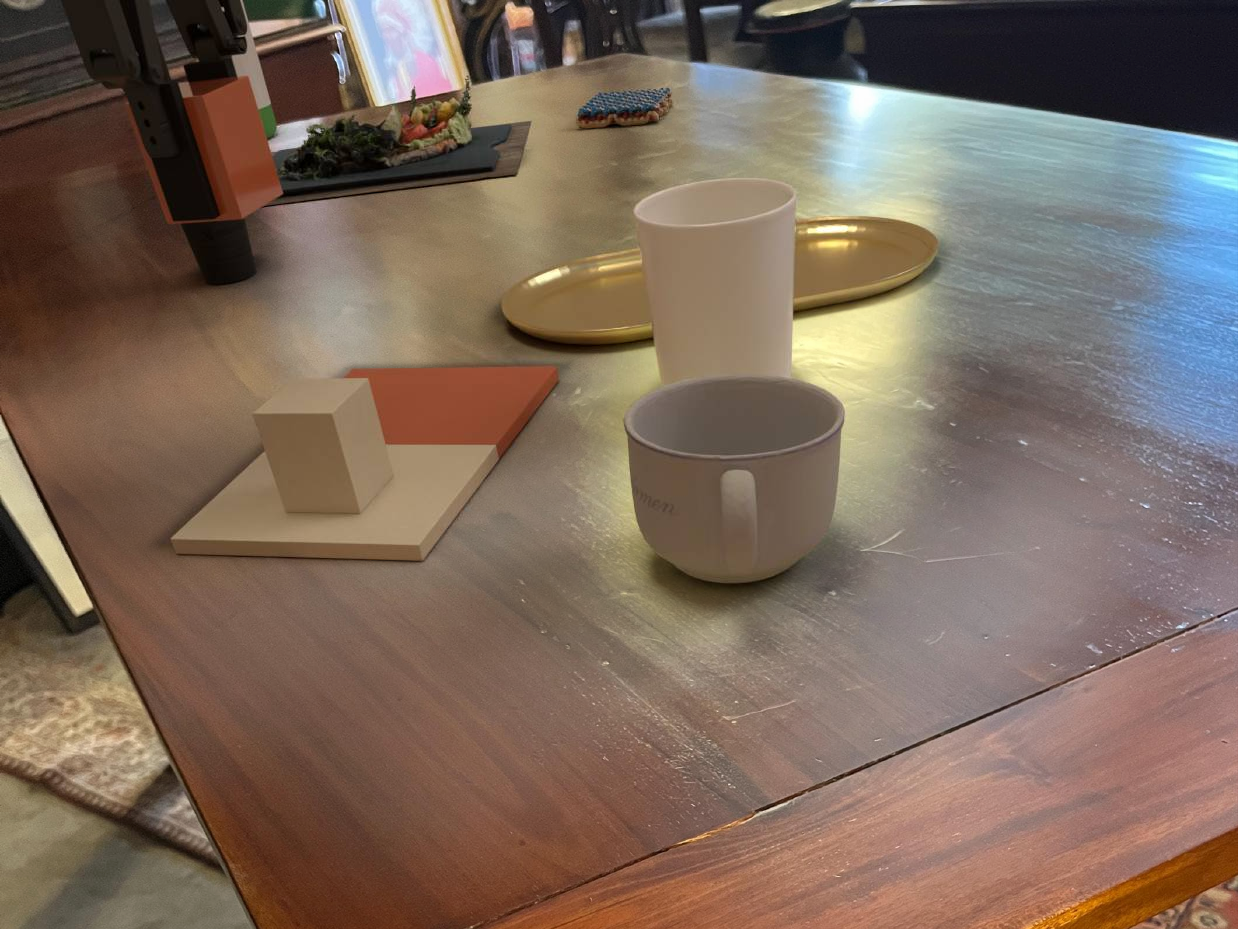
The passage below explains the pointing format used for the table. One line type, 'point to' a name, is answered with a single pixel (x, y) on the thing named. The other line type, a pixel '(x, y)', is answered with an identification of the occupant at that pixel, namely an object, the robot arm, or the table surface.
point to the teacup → (734, 472)
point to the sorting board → (421, 463)
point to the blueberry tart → (625, 108)
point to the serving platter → (617, 300)
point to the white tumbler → (720, 276)
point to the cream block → (325, 445)
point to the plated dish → (398, 152)
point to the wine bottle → (255, 80)
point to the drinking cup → (218, 241)
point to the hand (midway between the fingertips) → (222, 203)
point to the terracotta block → (226, 147)
